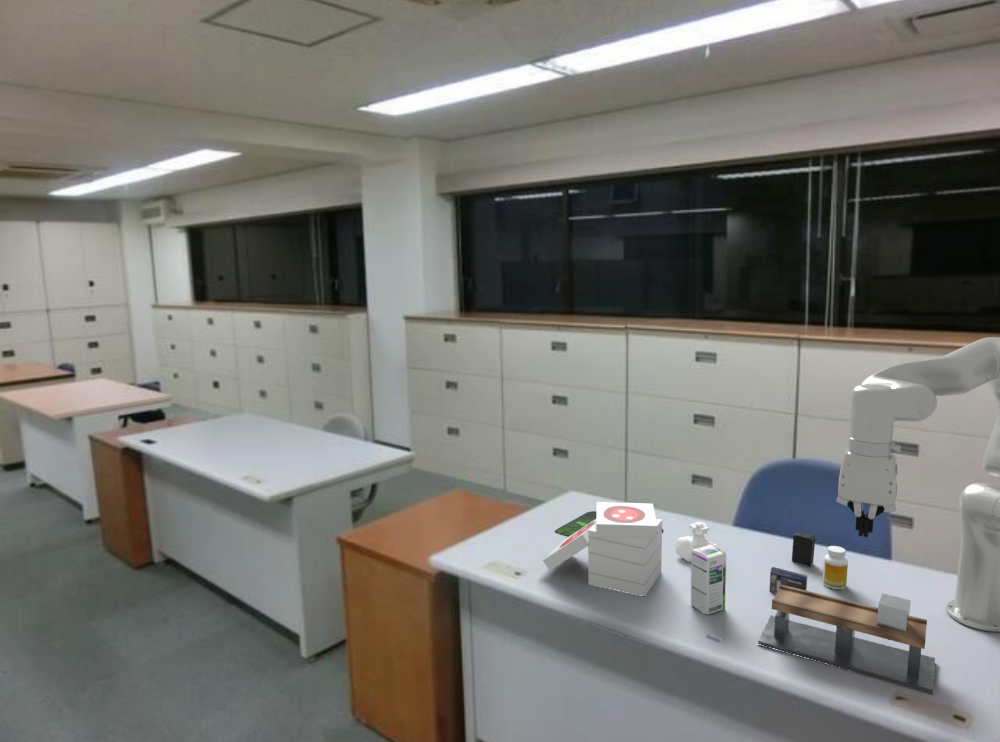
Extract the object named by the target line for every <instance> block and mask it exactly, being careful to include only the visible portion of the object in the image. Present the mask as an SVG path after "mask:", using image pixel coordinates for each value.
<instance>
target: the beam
mask: <svg viewBox="0 0 1000 742" xmlns="http://www.w3.org/2000/svg"><path fill="white" fill-rule="evenodd" d="M771 610H775V611H782V612H785V613H789V615H793V616H797V617H802V618H804V619H805V618H806V619H808V620H813V621H816V622H820V623H825V624H828V625H831V626H836V627H837V626H839V627H840V629H841V631H843V632H846V631H847V629H850V630H854V631H855V632H858V633H862V634H866V635H870V636H874V637H876V638H881V639H885V640H890V641H893V642H897V643H901V644H903V645H904V644H905V645H908V646H909V645H911V646H915V647H919V648H921V649H922V650H925V649H926V637H927V635H926V634H927V625H928V619H924V618H921V617H917V616H912V615H909V622H908V627H907V631H906V632H902V631H898V630H894V629H890V628H886V627H882V626H878V625H877V616H878V607H875V606H871V605H867V604H863V603H859V602H854V601H851V600H847V599H842V598H839V597H838V598H837V597H833V596H829V595H827V594H821V593H817V592H813V591H809V590H807V591H806V590H802V589H797V588H793V587H789V586H785V585H781V584H780V586H779V590H778V592H777V593H775V595H774V598H772V600H771Z"/></svg>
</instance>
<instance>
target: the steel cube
mask: <svg viewBox="0 0 1000 742" xmlns="http://www.w3.org/2000/svg"><path fill="white" fill-rule="evenodd" d="M911 603H912V602H911V600H910V599H907V598H902V597H898V596H895V595H890V594H886V593H881V596H880V598H879V601H878V607H877V608H878V616H877V625H878V626H882V627H886V628H890V629H894V630H898V631H902V632H906V631H907V627H908V622H909V616H910V611H911Z"/></svg>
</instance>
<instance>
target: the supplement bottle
mask: <svg viewBox="0 0 1000 742" xmlns="http://www.w3.org/2000/svg"><path fill="white" fill-rule="evenodd" d="M848 565H849V561H848V559H847V557H846V549H845V548H844V547H841V546H839V545H838V546H837V545H830V546H827V553H826V555H825V556H824V558H823V570H822V571H823V573H822V584H823V585H824V586H825V587H827V588H828V587H829V588H828V589H831V588H832V589H831V590H836V589H841V590H844V589H846V588H847V582H848V581H847V580H848V568H849V567H848Z"/></svg>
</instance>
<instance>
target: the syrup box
mask: <svg viewBox="0 0 1000 742" xmlns="http://www.w3.org/2000/svg"><path fill="white" fill-rule="evenodd" d="M690 566H691V567H690V572H691V573H690V606H692V607H693V606H694V608H695V609H696V608H697V609H696V610H698V609H699V610H700V611H699V610H698V611H699V612H701V611H702V612H701V613H703V612H704V613H705V614H704V613H703V614H704V615H706V614H707V616H709V615H711V614H714V613H717V612H719V611H723V610H725V609H726V581H727V579H726V576H727V575H726V573H727V553H726V552H725V551H724V550H723V549H720V548H719V547H718V548H716V547H714V546H711V545H707V546H705V547H701V548H697V549H693V550H691V562H690ZM708 614H709V615H708Z"/></svg>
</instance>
